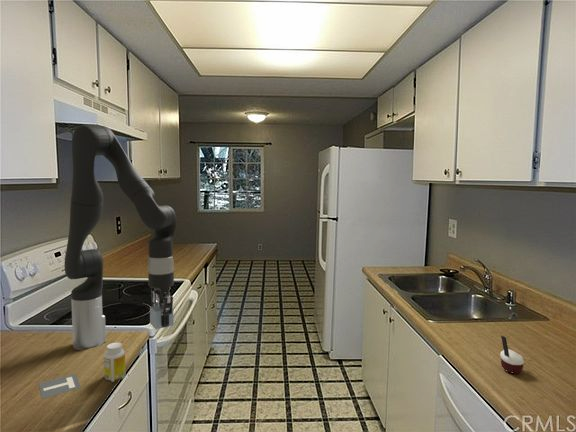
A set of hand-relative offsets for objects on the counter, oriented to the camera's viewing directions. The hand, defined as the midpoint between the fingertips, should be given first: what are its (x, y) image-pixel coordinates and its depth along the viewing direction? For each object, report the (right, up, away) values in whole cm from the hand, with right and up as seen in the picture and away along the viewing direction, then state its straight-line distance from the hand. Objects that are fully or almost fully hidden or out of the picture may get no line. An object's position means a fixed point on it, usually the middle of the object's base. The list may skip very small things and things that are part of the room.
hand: (161, 322), depth 118 cm
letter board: (-24, -14, -14) cm, 31 cm away
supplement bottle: (-11, -14, -9) cm, 20 cm away
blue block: (0, 0, 0) cm, 0 cm away
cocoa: (+110, -16, +2) cm, 111 cm away
